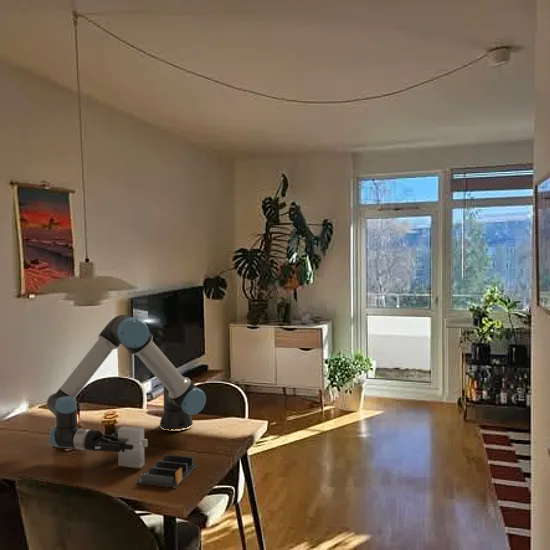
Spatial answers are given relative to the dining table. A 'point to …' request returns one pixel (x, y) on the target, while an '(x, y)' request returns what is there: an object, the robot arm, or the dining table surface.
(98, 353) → the robot arm
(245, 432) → the dining table surface
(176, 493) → the dining table surface
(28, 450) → the dining table surface
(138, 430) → the panel
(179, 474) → the rack
